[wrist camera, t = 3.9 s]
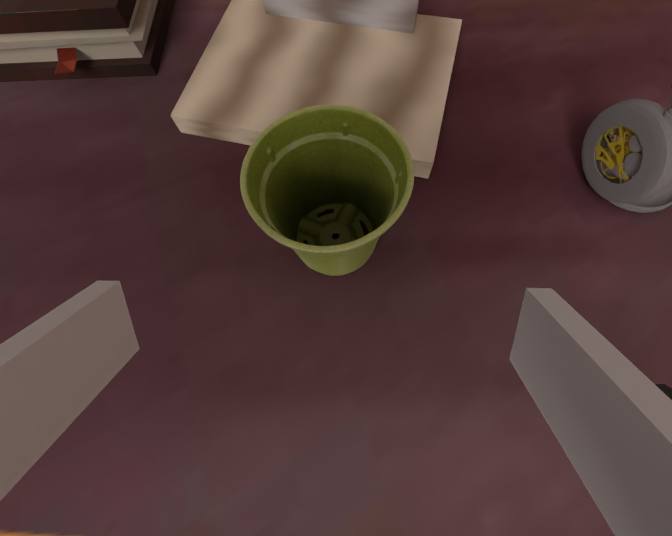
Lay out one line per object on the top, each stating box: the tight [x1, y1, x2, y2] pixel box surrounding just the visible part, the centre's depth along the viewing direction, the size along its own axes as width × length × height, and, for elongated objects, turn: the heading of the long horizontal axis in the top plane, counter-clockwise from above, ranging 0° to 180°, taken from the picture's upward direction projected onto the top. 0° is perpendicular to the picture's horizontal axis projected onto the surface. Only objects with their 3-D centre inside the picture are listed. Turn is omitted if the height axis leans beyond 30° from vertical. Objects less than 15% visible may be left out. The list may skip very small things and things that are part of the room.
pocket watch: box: [581, 86, 672, 213], centre depth 23 cm, size 8×8×10 cm
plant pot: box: [240, 105, 414, 276], centre depth 23 cm, size 9×9×9 cm
